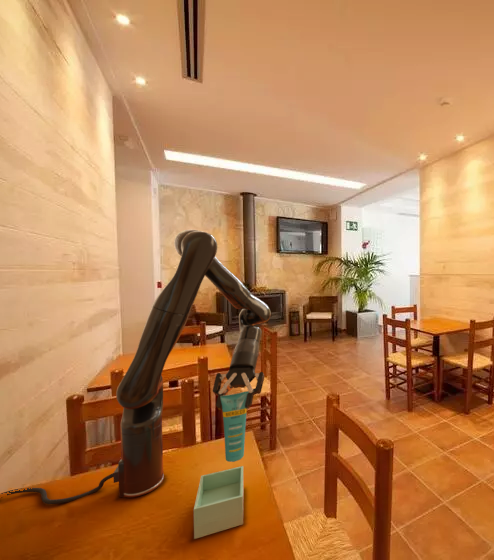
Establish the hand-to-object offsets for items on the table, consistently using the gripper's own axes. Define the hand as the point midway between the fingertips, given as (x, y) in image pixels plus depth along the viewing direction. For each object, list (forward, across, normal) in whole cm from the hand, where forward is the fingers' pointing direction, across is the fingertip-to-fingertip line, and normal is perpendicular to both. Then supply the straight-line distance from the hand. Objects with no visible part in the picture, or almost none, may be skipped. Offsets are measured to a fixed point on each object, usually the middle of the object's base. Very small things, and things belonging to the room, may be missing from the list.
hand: (233, 408), depth 86 cm
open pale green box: (+23, +1, +8) cm, 24 cm away
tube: (+10, 0, +12) cm, 16 cm away
